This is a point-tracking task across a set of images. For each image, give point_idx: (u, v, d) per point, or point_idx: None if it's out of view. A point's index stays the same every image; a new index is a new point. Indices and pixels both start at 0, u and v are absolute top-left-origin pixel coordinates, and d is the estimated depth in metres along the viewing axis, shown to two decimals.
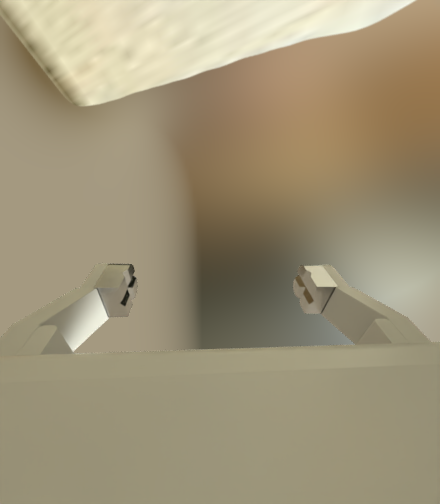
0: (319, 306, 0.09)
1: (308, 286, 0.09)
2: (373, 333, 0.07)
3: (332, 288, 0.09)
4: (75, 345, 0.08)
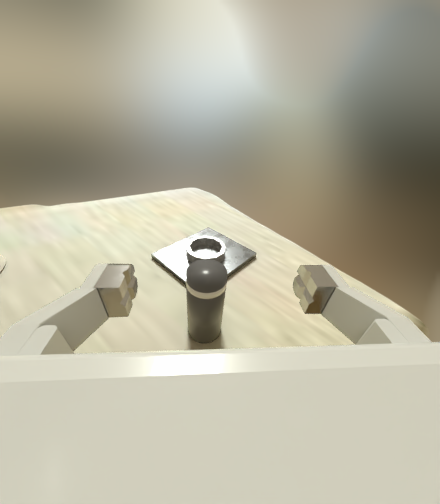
0: (319, 306, 0.09)
1: (308, 286, 0.09)
2: (373, 333, 0.07)
3: (332, 288, 0.09)
4: (75, 345, 0.08)
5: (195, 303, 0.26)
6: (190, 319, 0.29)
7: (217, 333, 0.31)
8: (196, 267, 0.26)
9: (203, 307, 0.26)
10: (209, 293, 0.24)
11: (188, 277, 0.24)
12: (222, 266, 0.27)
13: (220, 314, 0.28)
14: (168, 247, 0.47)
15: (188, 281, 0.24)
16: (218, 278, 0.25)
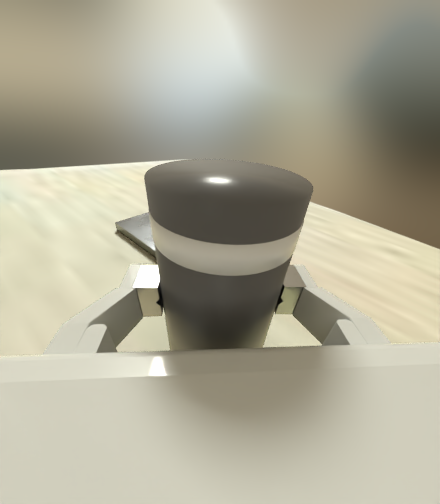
0: (289, 306, 0.09)
1: None
2: (335, 334, 0.07)
3: (300, 288, 0.09)
4: (115, 344, 0.08)
5: (189, 299, 0.06)
6: None
7: None
8: (189, 167, 0.07)
9: (219, 312, 0.07)
10: (251, 248, 0.05)
11: (153, 182, 0.06)
12: (278, 169, 0.08)
13: (266, 333, 0.09)
14: (146, 214, 0.29)
15: (153, 199, 0.05)
16: (282, 187, 0.06)
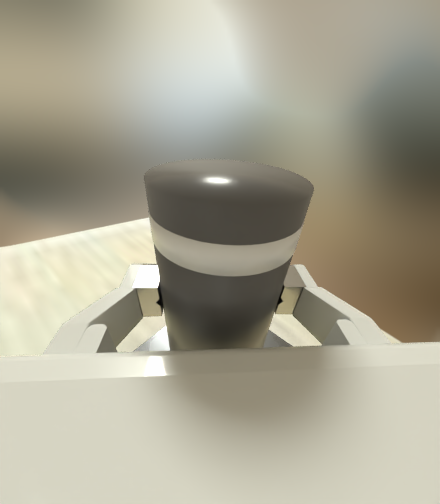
0: (289, 306, 0.09)
1: None
2: (335, 334, 0.07)
3: (300, 288, 0.09)
4: (115, 344, 0.08)
5: (189, 300, 0.06)
6: None
7: None
8: (189, 166, 0.07)
9: (219, 313, 0.06)
10: (252, 248, 0.05)
11: (152, 182, 0.05)
12: (278, 169, 0.08)
13: (266, 334, 0.09)
14: None
15: (152, 199, 0.05)
16: (283, 187, 0.06)
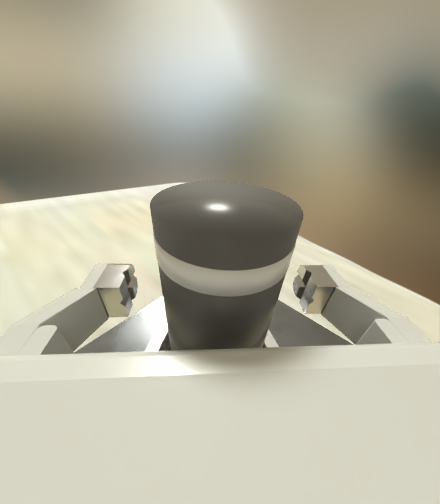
0: (319, 306, 0.09)
1: (309, 286, 0.09)
2: (373, 333, 0.07)
3: (332, 288, 0.09)
4: (75, 345, 0.08)
5: (191, 316, 0.07)
6: None
7: None
8: (190, 192, 0.08)
9: (218, 328, 0.07)
10: (246, 273, 0.06)
11: (158, 212, 0.06)
12: (273, 192, 0.08)
13: (263, 343, 0.10)
14: (92, 347, 0.15)
15: (158, 227, 0.06)
16: (275, 215, 0.06)
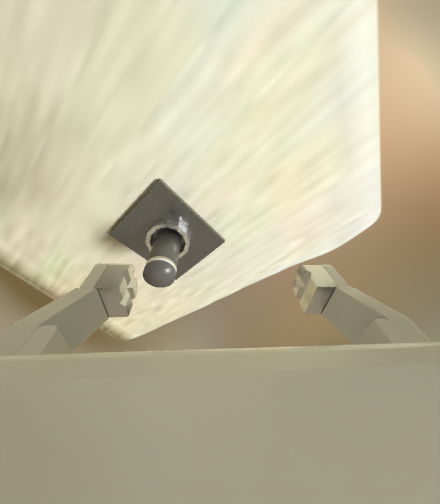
0: (319, 306, 0.09)
1: (308, 286, 0.09)
2: (373, 333, 0.07)
3: (332, 288, 0.09)
4: (75, 345, 0.08)
5: (148, 258, 0.35)
6: (156, 241, 0.38)
7: None
8: (164, 269, 0.33)
9: None
10: None
11: (150, 265, 0.32)
12: (167, 284, 0.35)
13: None
14: (175, 198, 0.38)
15: (149, 264, 0.32)
16: (153, 282, 0.34)
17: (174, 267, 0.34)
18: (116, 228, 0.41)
